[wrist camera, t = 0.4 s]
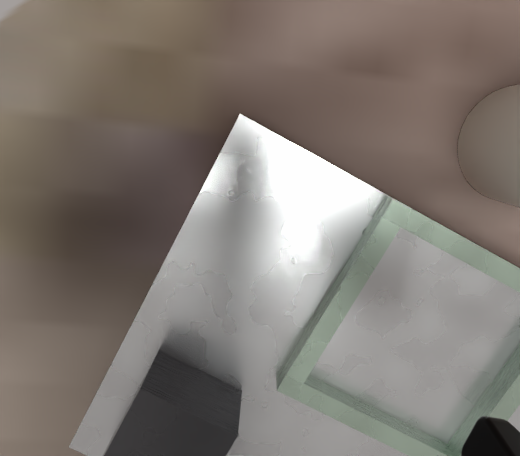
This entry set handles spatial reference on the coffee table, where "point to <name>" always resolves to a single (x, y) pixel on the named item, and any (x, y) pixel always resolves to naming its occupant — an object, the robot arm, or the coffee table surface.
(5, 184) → the coffee table surface
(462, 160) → the cream bottle
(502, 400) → the plate
